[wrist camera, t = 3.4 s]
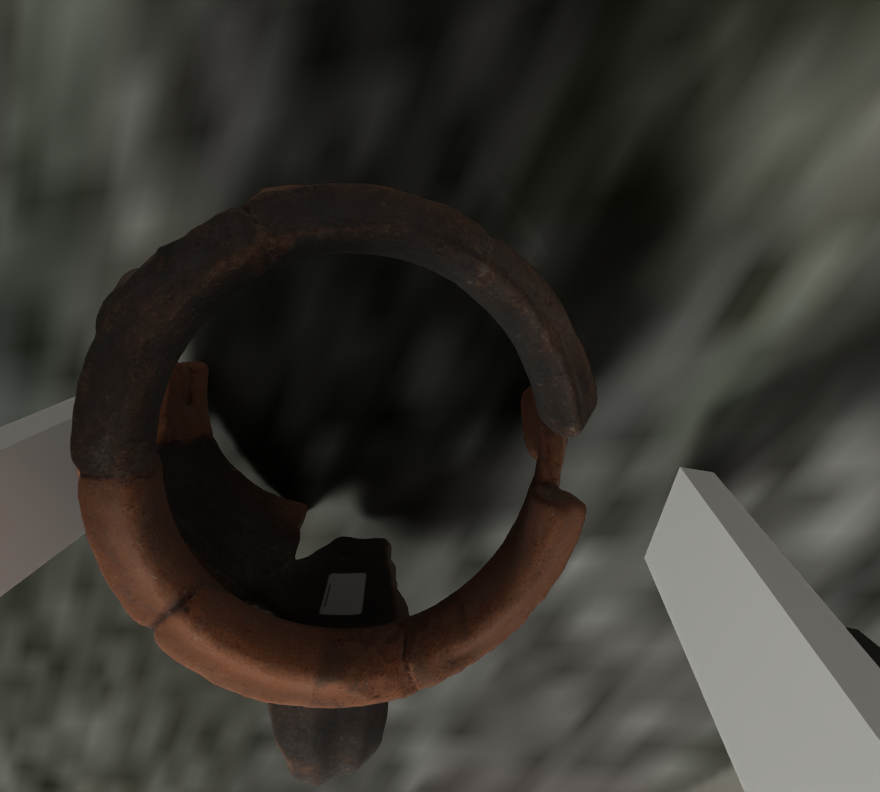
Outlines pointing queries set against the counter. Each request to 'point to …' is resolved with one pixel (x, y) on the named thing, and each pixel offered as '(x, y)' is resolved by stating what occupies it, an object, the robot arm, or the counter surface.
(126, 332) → the pottery mug
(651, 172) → the counter surface
